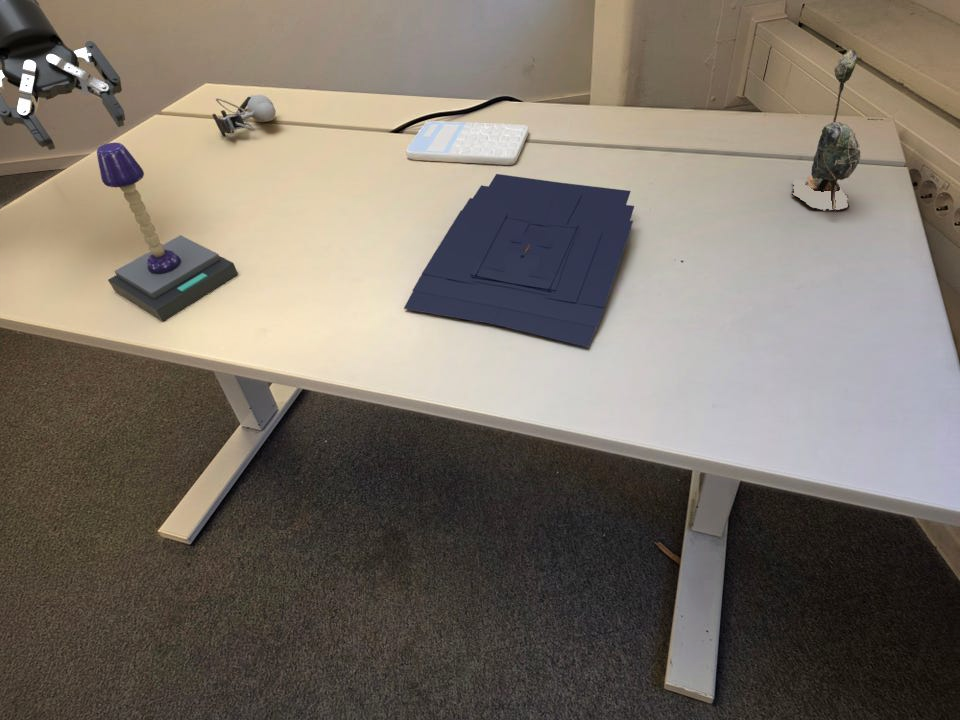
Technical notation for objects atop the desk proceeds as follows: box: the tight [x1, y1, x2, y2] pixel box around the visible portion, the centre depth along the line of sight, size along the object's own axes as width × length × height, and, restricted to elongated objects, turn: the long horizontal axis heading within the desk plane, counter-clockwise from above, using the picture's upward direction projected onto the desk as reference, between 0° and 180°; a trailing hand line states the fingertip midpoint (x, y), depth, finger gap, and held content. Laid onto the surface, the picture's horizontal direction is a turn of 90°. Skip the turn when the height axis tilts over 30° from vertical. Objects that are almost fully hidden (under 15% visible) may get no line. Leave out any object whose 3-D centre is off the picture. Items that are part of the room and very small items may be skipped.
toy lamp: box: [96, 142, 181, 274], centre depth 76 cm, size 5×5×17 cm
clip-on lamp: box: [211, 94, 277, 137], centre depth 121 cm, size 12×6×18 cm
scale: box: [107, 234, 239, 322], centre depth 83 cm, size 12×12×3 cm
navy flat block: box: [403, 173, 635, 348], centre depth 82 cm, size 24×30×4 cm
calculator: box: [405, 120, 530, 166], centre depth 109 cm, size 13×20×2 cm, turn 76°
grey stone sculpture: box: [805, 49, 862, 209], centre depth 82 cm, size 8×11×20 cm
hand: (86, 134), depth 76 cm, fingers open, 8 cm apart
